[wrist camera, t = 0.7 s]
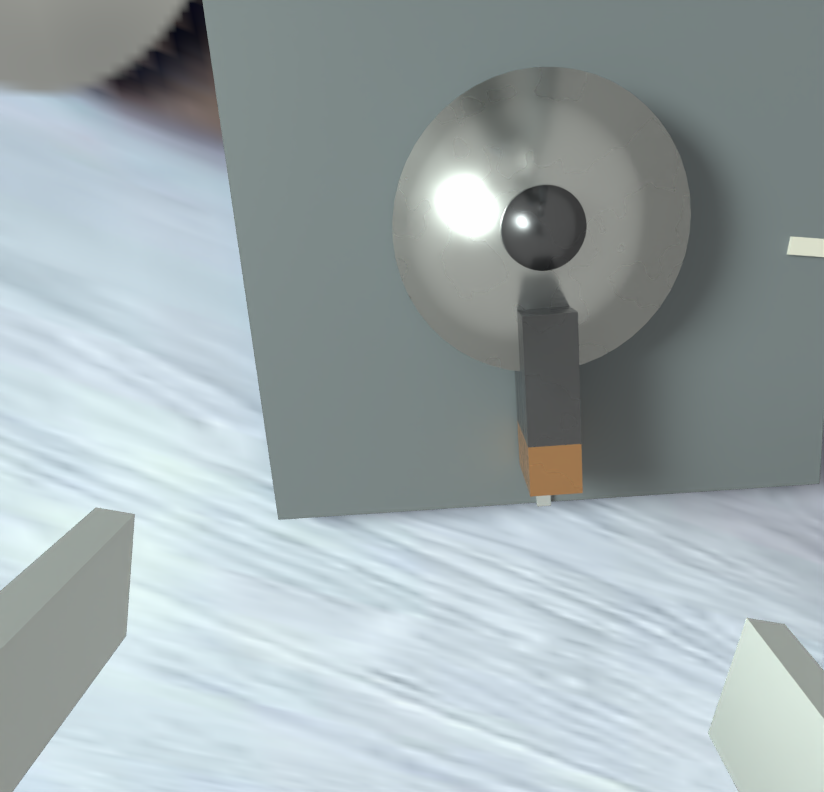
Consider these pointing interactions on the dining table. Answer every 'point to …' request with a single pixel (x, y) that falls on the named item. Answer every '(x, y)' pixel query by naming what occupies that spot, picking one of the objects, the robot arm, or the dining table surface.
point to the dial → (542, 240)
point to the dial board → (441, 362)
